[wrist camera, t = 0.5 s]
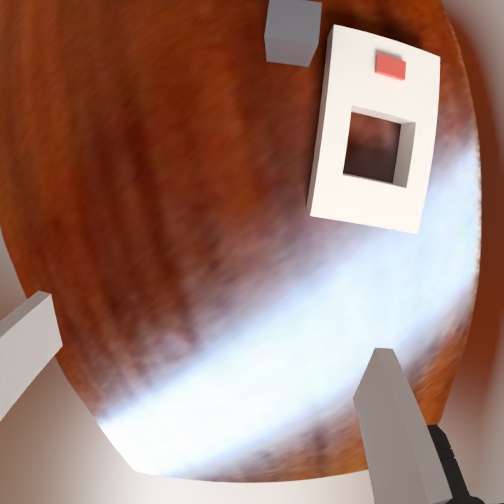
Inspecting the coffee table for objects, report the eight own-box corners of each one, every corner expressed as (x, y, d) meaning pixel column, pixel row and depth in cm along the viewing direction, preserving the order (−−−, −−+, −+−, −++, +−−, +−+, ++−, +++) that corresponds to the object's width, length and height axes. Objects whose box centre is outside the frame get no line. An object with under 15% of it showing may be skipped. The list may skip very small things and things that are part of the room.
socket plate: (327, 37, 26) (335, 21, 22) (424, 64, 26) (443, 55, 22) (306, 207, 33) (310, 217, 29) (403, 224, 33) (420, 236, 28)
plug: (271, 27, 27) (269, -5, 19) (311, 32, 26) (321, 3, 19) (266, 61, 28) (264, 36, 21) (308, 67, 28) (318, 44, 20)
